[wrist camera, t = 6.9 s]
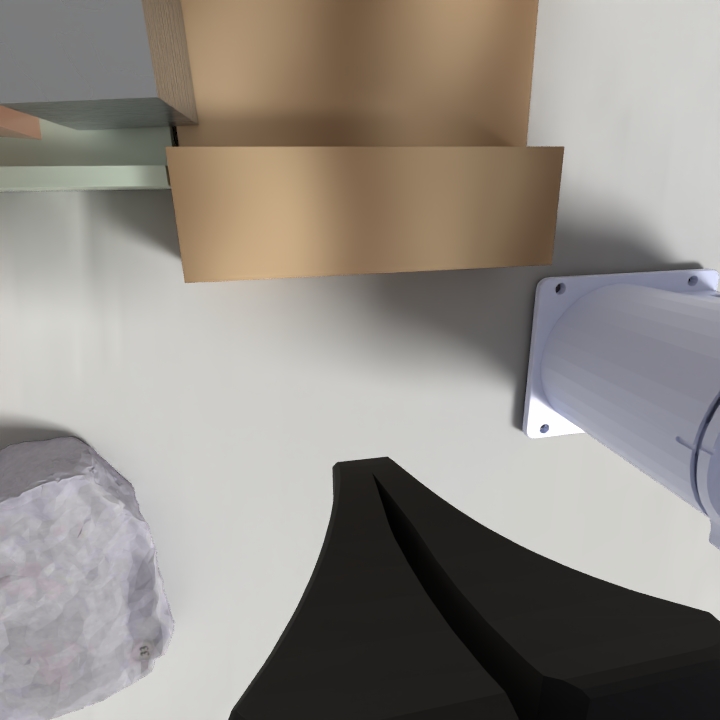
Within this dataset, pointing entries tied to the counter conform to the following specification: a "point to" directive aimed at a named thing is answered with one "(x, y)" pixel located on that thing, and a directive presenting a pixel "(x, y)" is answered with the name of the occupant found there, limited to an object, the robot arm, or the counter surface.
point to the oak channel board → (360, 139)
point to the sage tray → (86, 159)
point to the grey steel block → (97, 63)
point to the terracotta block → (18, 124)
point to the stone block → (73, 582)
